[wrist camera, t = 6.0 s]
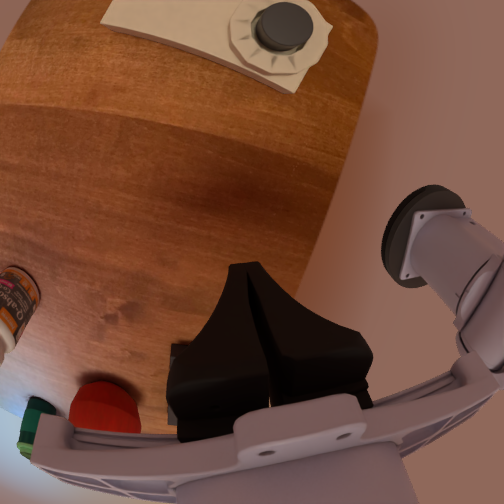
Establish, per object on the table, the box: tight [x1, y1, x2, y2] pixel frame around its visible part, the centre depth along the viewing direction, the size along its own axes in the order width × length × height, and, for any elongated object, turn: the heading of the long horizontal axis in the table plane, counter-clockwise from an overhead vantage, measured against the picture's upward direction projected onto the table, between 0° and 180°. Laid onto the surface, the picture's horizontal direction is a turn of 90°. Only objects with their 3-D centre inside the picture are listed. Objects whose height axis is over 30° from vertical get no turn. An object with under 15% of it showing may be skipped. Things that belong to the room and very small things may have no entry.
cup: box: [17, 397, 56, 460], centre depth 30 cm, size 8×8×12 cm
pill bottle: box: [0, 267, 39, 366], centre depth 19 cm, size 6×6×10 cm
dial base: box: [100, 0, 333, 94], centre depth 13 cm, size 14×6×4 cm, turn 63°
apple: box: [68, 381, 141, 434], centre depth 28 cm, size 10×10×12 cm
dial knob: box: [255, 2, 313, 51], centre depth 12 cm, size 3×3×2 cm
